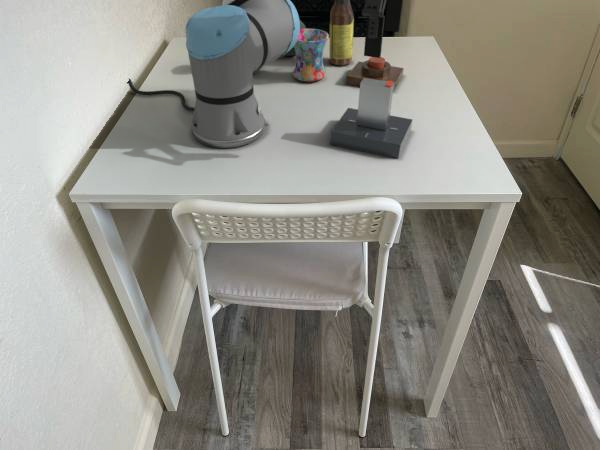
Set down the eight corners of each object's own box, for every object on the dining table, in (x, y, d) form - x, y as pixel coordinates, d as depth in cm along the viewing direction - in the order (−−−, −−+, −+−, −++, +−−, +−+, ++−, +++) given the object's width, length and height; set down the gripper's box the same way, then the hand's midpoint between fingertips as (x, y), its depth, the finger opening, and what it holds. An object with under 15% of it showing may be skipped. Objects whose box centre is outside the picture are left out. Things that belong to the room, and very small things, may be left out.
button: (366, 68, 113) (366, 61, 112) (370, 62, 116) (371, 55, 114) (382, 70, 112) (382, 63, 110) (386, 64, 114) (386, 57, 113)
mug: (314, 87, 113) (315, 44, 106) (284, 79, 117) (282, 36, 110) (338, 71, 120) (341, 29, 113) (309, 63, 124) (309, 23, 117)
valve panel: (330, 144, 93) (331, 130, 91) (347, 120, 100) (348, 106, 98) (398, 158, 89) (400, 144, 87) (410, 132, 96) (412, 118, 94)
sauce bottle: (356, 63, 124) (362, -17, 111) (338, 68, 122) (342, -13, 109) (341, 55, 128) (345, -23, 115) (323, 60, 126) (325, -19, 113)
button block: (346, 84, 114) (347, 68, 112) (357, 69, 121) (359, 54, 119) (393, 92, 111) (395, 76, 108) (402, 76, 118) (404, 61, 115)
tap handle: (356, 125, 92) (360, 81, 86) (360, 119, 94) (364, 76, 88) (385, 130, 91) (391, 86, 85) (388, 124, 92) (394, 81, 86)
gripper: (404, -91, 58) (385, 71, 72) (438, -111, 75) (417, 23, 89) (347, -94, 60) (340, 65, 74) (393, -112, 77) (380, 19, 91)
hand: (382, 42), depth 82 cm, fingers open, 13 cm apart
